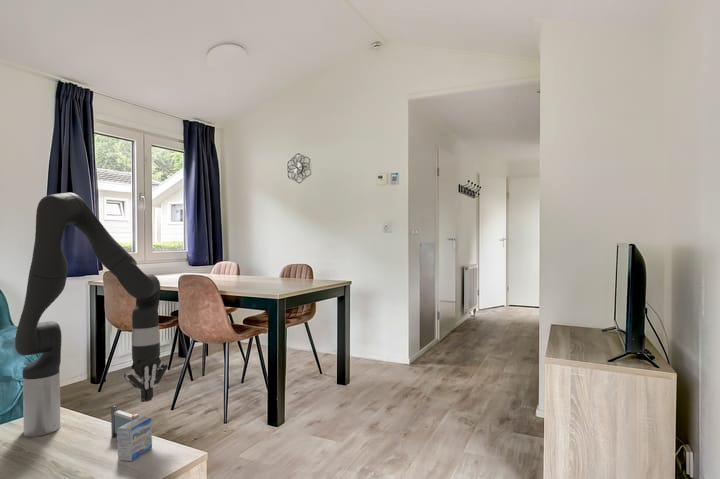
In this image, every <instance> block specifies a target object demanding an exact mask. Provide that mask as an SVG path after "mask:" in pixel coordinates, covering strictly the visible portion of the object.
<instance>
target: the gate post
mask: <svg viewBox="0 0 720 479" xmlns="http://www.w3.org/2000/svg"><path fill="white" fill-rule="evenodd" d="M115 411H118V405H111V407H110V415H111V416H110V420H111V422H110V423H111V424H110V425H111V427H110V428H111V438H112V439H113V438H114V439H115V438H117V434H116V433H115V415H114V412H115Z"/></svg>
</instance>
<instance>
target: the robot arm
mask: <svg viewBox="0 0 720 479" xmlns="http://www.w3.org/2000/svg"><path fill="white" fill-rule="evenodd" d="M70 225H73V226H74V227H76V228H77V229H78V230H79V231H80V232H82V233H83V234H84V235H85V238H87V240H88V241H89V243H90V246H91V249H92V251H93V253H94V255H95V257H96V259H97V260H98V261H99V263H101V264H102V265H103V266H104V267H105V268H106V269H107V270H108V271H109V272H110V273H111V274H112V275H114V277H115V278H116V279H117V281H118V282H119V284H120V285H121V286H122V288H123V289H124V290H125V291H126V292H127V293H128V294H129V295H130V296H132V297H133V298H135V306H134V308H133V310H132V314H131V322H132V323H131V324H132V326H131V327H132V329H131V330H132V331H131V359H132V365H131V367H130V368H131V370H130V371H129V372H126V373H125V374H124V375H123V377H124V379H126V381H128V382H129V383H130V384H131V385H132V387H134V388H136V389H139V390H140V392H141V393H140V395H141V396H140V397H141V400H142V401H143V402H146V403H148V402H150V401H152V398H153V397H154V386H155V385H157V384H159V383H160V381H161V380H162V378H163V376H164V375H165V372H166V371H167V369H168V366H169V365H168V364H166V363H163V362H162V360H161V358H160V357H161V334H160V333H161V331H160V326H159V325H160V324H159V322H160V321H159V306H160V299H161V283H160V280H159V279H158V277H157V276H156V275H154V274H151V273H144V272H143V271H142V270H141V269H140V267H139V266H137V265H138V263H137V260H136V259H135V258H134V257H133V256H132V255H131V254H130V253H129V252H128V251H127V250H126V249H124V248H123V246H122V245H121V244H119V242H118V241H116V240H115V239H114V237H113V236H112V235H111V234H110V233H109V232H108V230H107V228H105V226H104V225H103V224H102V222H101V221H100V220H99V218H98V217H97V216H96V214H95V213H94V212H93V211H92V209H91V208H90V207H89V205H88V204H87V203H86V201H84V199H83V198H82V197H81V196H80V195H78V194H76V193H74V192H62V193H53V194H48V195H45V196H44V197H42V198H41V199H40V200H39V202H38V204H37V207H36V214H35V233H34V238H35V239H34V245H33V251H32V256H31V257H32V259H31V263H30V267H29V272H28V279H27V284H26V293H25V297H24V303H23V308H22V311H21V315H20V318H19V321H18V325H17V328H16V333H15V337H14V340H15V342H14V346H15V350H16V352H17V354H18V355H20V356H33V355H37V354H41V356H40V357H39V358H37V359H36V360H35V361H33V362H31V363H30V364H27V365H26V366H25V367H24V368H23V370H22V400H23V401H22V402H23V404H22V406H23V407H22V409H23V435H24V436H25V437H31V438H33V437H40V436H46V435H48V434H52V433H54V432H56V431H58V430H59V429H60V428H61V381H60V380H61V379H60V377H61V376H60V367H61V363H62V362H61V360H62V358H61V356H62V330H61V327H60V324H59V323H58V322H57V321H54V320H53V321H51V320H48V321H41V322H40V319H41V317H42V315H43V314H44V312H46V310H47V309H48V308H49V307H50V306H51V305H52V304H53V303H54V302H55V301H56V300H57V298H58V297H60V295H61V294H62V292H63V291H64V289H65V286H66V282H67V279H68V277H67V276H68V274H69V265H68V260H67V258H66V256H65V254H64V251H63V246H62V242H63V237H64V232H65V229H66V227H67V226H70ZM136 377H137V378H136Z"/></svg>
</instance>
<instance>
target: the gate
mask: <svg viewBox="0 0 720 479" xmlns="http://www.w3.org/2000/svg"><path fill="white" fill-rule="evenodd" d="M114 415H115V433H116V434H117V429H118V428H119V427H121V426H123V425H125V424H127V423H129V422H131V421H132V420H134V419H136V418H138V417H140V414H139V413H135V414H132V413H129V412H126V411H123V410H120V409H119V410H118V409H117V411H115V412H114Z"/></svg>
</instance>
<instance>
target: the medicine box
mask: <svg viewBox="0 0 720 479" xmlns="http://www.w3.org/2000/svg"><path fill="white" fill-rule="evenodd" d="M152 420H153V419H152V418H151V417H147V416H139V417H138V418H136V419H134V420H132V421H131V422H129V423H127V424H125V425H123V426H121V427H119V428H118V429H117V437H116V438H117V460H119V461H124V462H133V461H135V460H137V459H138V458H139V457H141V456H142V455H143V454H145V453H146V452H148V451H150V450H151V449H153V434H152V432H153V431H152V430H153V428H152V427H153V426H152Z"/></svg>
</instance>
